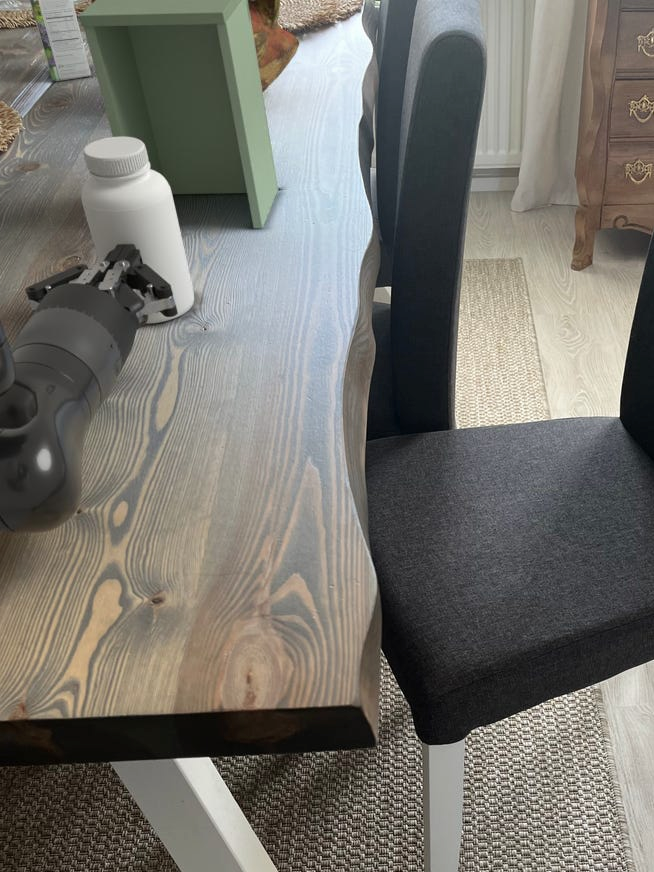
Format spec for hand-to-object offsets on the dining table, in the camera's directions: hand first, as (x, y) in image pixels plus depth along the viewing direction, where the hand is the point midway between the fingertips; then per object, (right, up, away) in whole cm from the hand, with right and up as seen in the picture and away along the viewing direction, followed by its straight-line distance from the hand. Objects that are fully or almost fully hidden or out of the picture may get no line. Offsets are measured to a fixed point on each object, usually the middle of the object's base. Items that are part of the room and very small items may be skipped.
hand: (129, 254), depth 91 cm
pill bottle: (0, -2, +8) cm, 8 cm away
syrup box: (-30, +51, +62) cm, 86 cm away
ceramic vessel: (-6, +40, +50) cm, 65 cm away
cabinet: (+1, +14, +24) cm, 28 cm away
